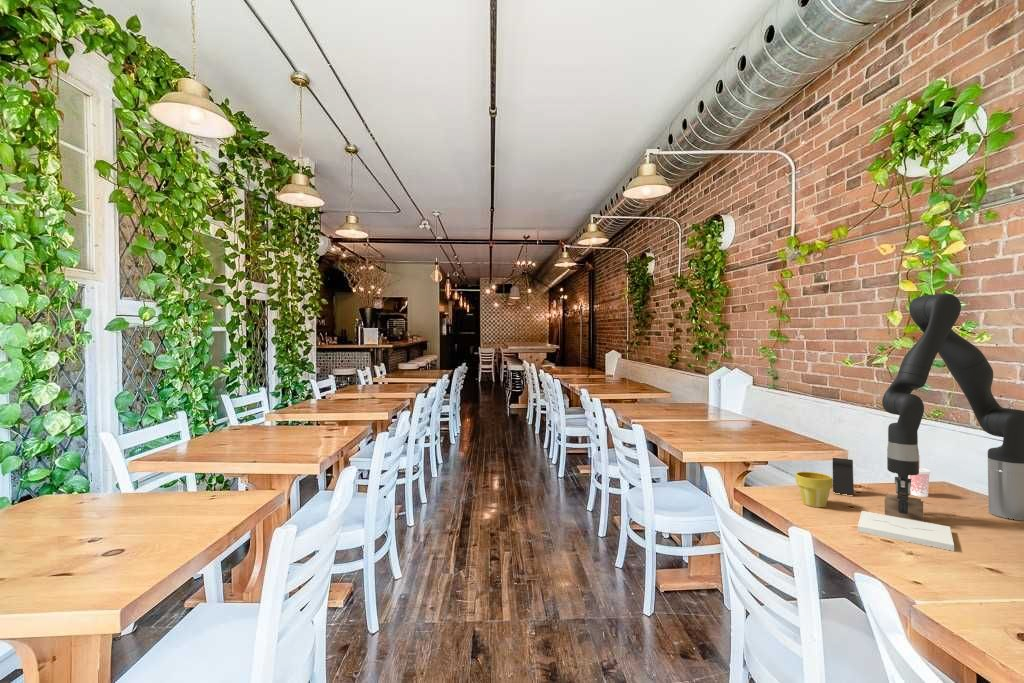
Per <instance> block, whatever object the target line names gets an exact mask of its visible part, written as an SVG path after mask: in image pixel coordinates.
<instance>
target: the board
mask: <svg viewBox="0 0 1024 683" xmlns="http://www.w3.org/2000/svg"><path fill="white" fill-rule="evenodd" d="M857 532H858V533H861V534H867V535H872V536H875V537H876V536H877V537H881V538H885V539H887V538H888V539H890V540H891V539H893V540H896V541H901V542H905V541H906V542H907V543H910V542H911V544H915V543H916V545H920V544H922V545H921V546H925V545H927V546H926V547H930V546H933V547H932V548H935V547H937V548H936V549H940V548H941V549H940V550H944V549H946V550H945V551H949V550H951V551H950V552H955V544H954V539H953V534H952V529H951V526H948V525H943V524H938V523H932V522H927V521H923V522H921V521H916V520H910V519H905V518H899V517H894V516H888V515H885V514H883V513H876V512H872V511H871V512H870V511H865V510H861V512H860V517H859V520H858V524H857Z"/></svg>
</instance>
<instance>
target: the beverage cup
mask: <svg viewBox="0 0 1024 683" xmlns="http://www.w3.org/2000/svg"><path fill="white" fill-rule="evenodd" d="M920 458H921V456H920V454H919V474H918V475H908V479H911V487H910V495H912V496H915V497H920V498H921V497H922V498H928V497H929V485H930V474H931V470H930V469H927V468H923V467H922V468H921V465H920V464H921V462H920V461H921V459H920Z"/></svg>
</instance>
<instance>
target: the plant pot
mask: <svg viewBox="0 0 1024 683" xmlns="http://www.w3.org/2000/svg"><path fill="white" fill-rule="evenodd" d="M795 483H796V484H797V486H798V491H799V493H800V497H801V501H802V504H803V503H804V504H803V505H805V506H807V505H808V506H807V507H811V506H812V507H813V508H818V507H823V508H826V507H827V504H828V499H829V495H830V492H831V489H833V476H831V475H828V474H826V473H825V474H824V473H820V472H815V471H798V472H796V473H795Z"/></svg>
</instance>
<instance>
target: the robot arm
mask: <svg viewBox="0 0 1024 683" xmlns="http://www.w3.org/2000/svg"><path fill="white" fill-rule="evenodd" d="M908 311H909V315H910V318H911V319H912V320H913V322H914V323H915V324H916V325H917V327H918V329H919V330H920V331H922V333H923V334H922V335H921V337H920V338H919V339H918V340H917V341H916V343H914V344H913V345H912V347H911V348H910V349H909V350H908V351H907V352H906V354H905V356H904V357H903V359H902V361H901V364H900V366H899V369H898V372H897V376H896V377H895V379H894V380H893V381H892V382H891V384H890V385H889V386H888V388H887V390H886V391H885V392H884V394H883V396H882V400H881V404H882V408H883V409H884V411H885V412H886V413H889V414H891V415H897V416H899V417H898V420H897V422H892V423H890V424H888V428H887V429H888V430H887V447H886V448H887V449H886V451H887V453H886V454H887V455H886V456H887V457H886V458H887V459H886V460H887V461H886V463H887V464H886V466H887V467H886V468H887V471H888V472H890V473H892V474H896V475H897V476H894V485H895V493H896V495H898V497H897V499H898V512H899V513H902V514H908V501H909V499H908V497H910V496H911V490H910V487H911V479H909V475H918V474H919V455H920V451H919V445H918V443H919V439H918V438H919V436H918V430H919V428H920V425H921V422H922V419H923V416H924V414H925V413H924V412H925V404H924V402H923V399H922V398H921V397H920V396H919V395H917V394H913V393H912V392H913V391H914V390H918V389H922V388H923V387H924V386H925V385H926V383H927V380H928V377H929V375H930V371H931V369H932V366H933V363H934V361H935V360H936V356H937V355H939V356H940V358H941V359H942V360H943V362H944V364H945V367H946V368H947V369H948V372H950V374H951V376H952V377H953V378H954V380H955V381H956V383H957V384H958V386H959V388H960V389H961V391H962V392H963V395H964V396H965V398H966V399H967V401H968V403H969V405H970V407H971V409H972V411H973V414H974V417H975V418H976V420H977V422H978V424H979V426H980V427H981V429H982V430H983V431H984V432H986V433H987V434H988V435H991V436H995V437H999V438H1002V439H1003V440H1002V445H1000V446H997V447H991V448H989V449H988V450H987V487H988V488H987V493H988V495H987V496H988V497H987V498H988V504H987V505H988V513H989V514H992V515H993V516H996V517H998V518H999V517H1000V518H1003V519H1008V518H1009V520H1013V519H1014V521H1021V522H1022V521H1024V410H1022V409H1015V408H1009V407H1002V406H1001V405H1000V404H999V403H998V401H997V400H996V399H995V396H994V395H993V393H992V386H993V380H994V370H993V367H992V366H991V364H990V362H989V361H988V359H987V357H986V356H985V355H984V353H983V352H982V351H981V350H980V349H979V348H978V347H977V346H975V345H974V344H973V343H971V342H970V341H968V340H967V339H965V338H964V337H962V336H961V335H959V334H958V333H957V332H955V331H954V330H953V327H954V325H955V324H956V322H957V320H958V319H959V317H960V314H961V311H962V303H961V300H959V298H958V297H957V296H955V295H954V294H952V293H938V294H936V293H935V294H929V295H928V294H927V295H921V296H918V297H915V298H913V299H912V300H911V302H910V303H909V305H908ZM903 496H906V497H903Z"/></svg>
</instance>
